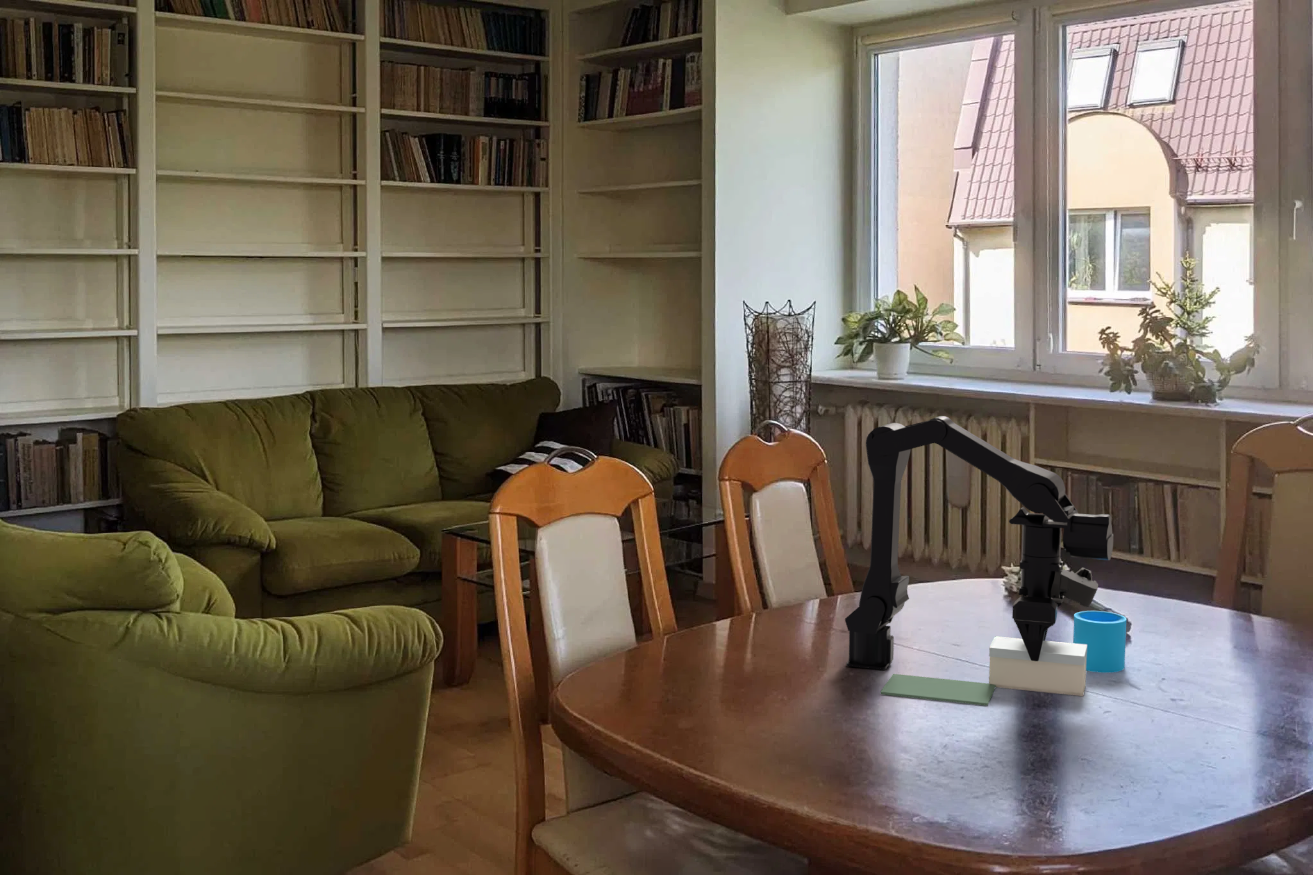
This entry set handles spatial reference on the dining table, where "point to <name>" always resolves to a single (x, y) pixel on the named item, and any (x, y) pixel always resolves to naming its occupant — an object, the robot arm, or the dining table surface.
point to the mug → (1101, 639)
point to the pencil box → (1038, 676)
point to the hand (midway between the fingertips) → (1037, 652)
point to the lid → (1049, 652)
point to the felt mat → (939, 689)
